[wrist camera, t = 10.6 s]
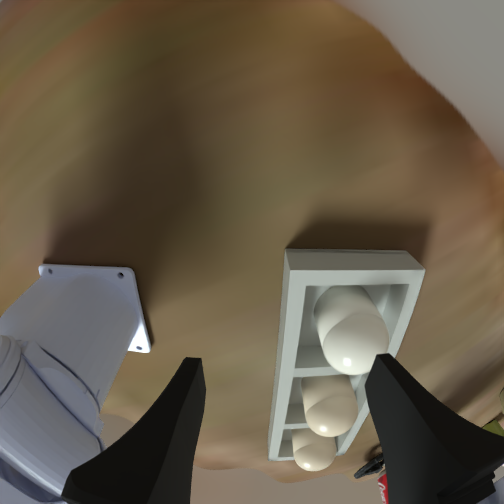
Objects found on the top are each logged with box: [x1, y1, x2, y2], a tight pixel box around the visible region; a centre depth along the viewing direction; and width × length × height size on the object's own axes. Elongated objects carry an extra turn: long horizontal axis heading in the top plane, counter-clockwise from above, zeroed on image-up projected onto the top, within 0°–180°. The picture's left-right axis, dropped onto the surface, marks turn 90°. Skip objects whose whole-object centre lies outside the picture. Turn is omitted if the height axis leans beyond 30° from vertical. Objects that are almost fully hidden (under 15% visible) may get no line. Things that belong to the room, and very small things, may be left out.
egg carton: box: [268, 249, 425, 471], centre depth 21 cm, size 9×25×6 cm, turn 179°
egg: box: [313, 285, 390, 375], centre depth 17 cm, size 4×4×6 cm
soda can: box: [378, 470, 388, 504], centre depth 32 cm, size 7×7×13 cm
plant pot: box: [483, 420, 504, 436], centre depth 31 cm, size 9×9×9 cm
